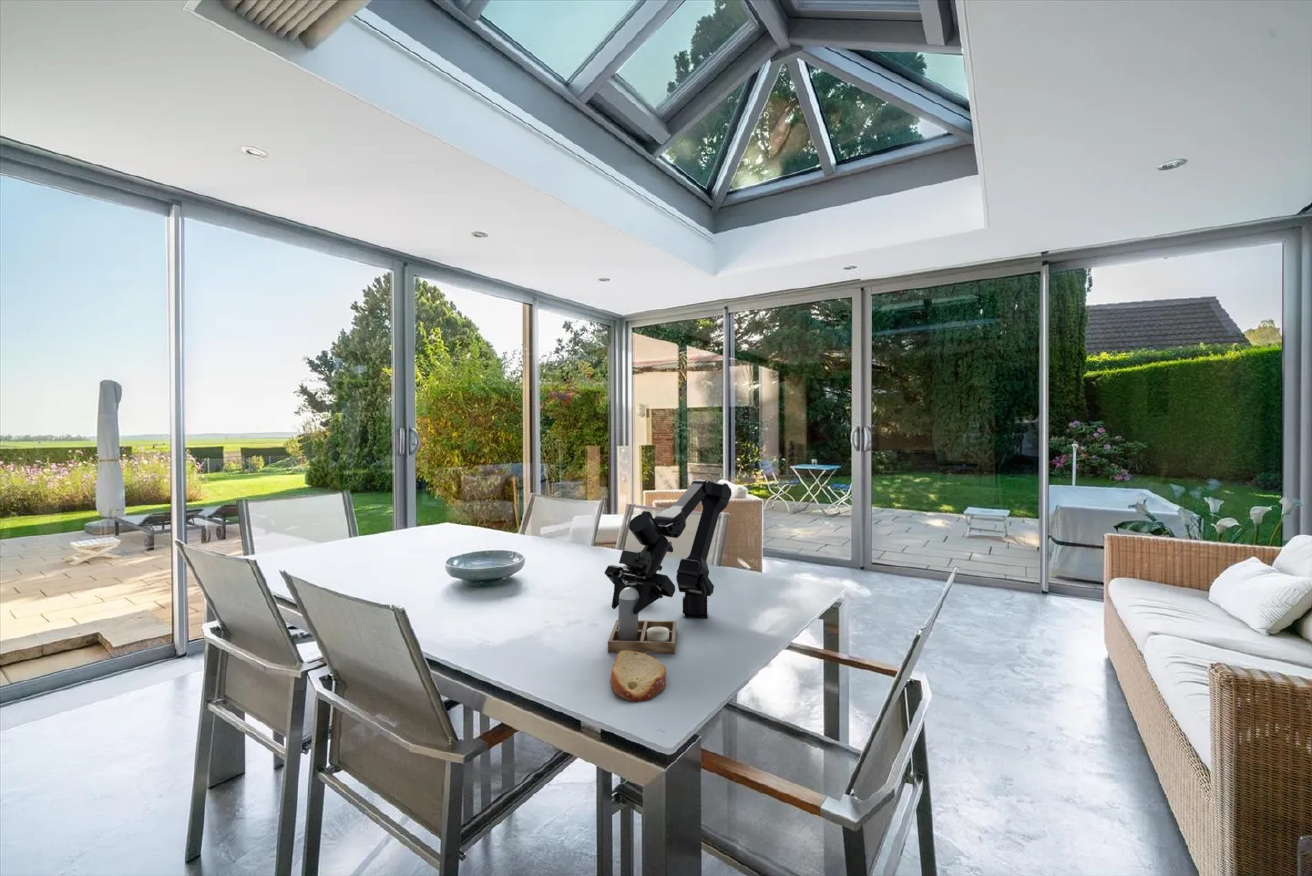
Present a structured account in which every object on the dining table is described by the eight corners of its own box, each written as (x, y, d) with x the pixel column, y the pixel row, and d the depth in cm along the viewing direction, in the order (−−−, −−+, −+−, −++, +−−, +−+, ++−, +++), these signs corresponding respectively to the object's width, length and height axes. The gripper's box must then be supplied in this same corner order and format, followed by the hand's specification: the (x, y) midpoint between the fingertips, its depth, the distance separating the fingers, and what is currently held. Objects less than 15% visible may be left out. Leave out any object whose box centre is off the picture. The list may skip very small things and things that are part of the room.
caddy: (676, 630, 147) (676, 615, 147) (674, 654, 131) (674, 636, 131) (616, 629, 148) (616, 614, 148) (607, 652, 132) (607, 635, 132)
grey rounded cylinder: (634, 639, 139) (636, 584, 139) (639, 646, 134) (641, 589, 134) (615, 640, 138) (617, 585, 138) (619, 647, 133) (621, 590, 133)
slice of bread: (629, 655, 131) (629, 639, 131) (693, 676, 120) (693, 659, 120) (572, 682, 117) (572, 664, 117) (638, 708, 106) (638, 688, 106)
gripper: (609, 533, 145) (578, 585, 136) (668, 541, 133) (638, 599, 125) (629, 558, 151) (600, 610, 142) (687, 568, 139) (660, 625, 131)
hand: (623, 610), depth 135 cm, fingers open, 6 cm apart
